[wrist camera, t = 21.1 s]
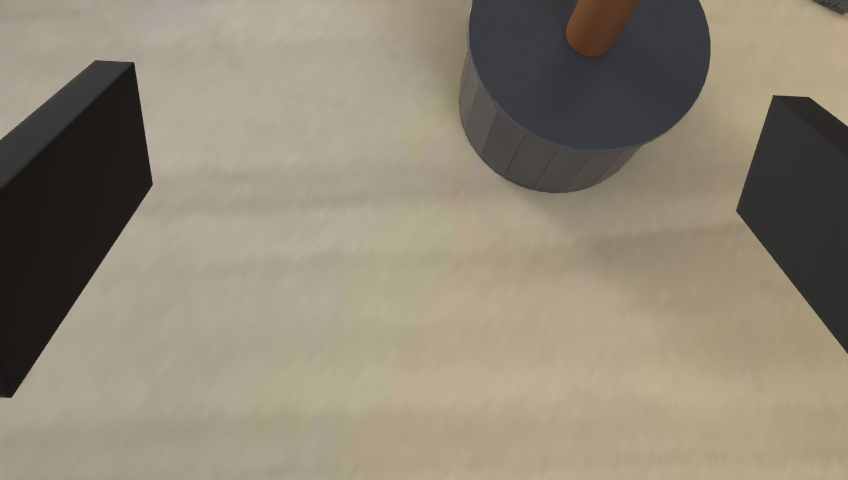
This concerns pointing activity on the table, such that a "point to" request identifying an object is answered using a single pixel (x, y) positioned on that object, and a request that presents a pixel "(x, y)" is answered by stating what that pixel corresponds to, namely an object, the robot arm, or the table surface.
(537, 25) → the lid
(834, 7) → the sword in stone
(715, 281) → the table surface
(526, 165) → the tin
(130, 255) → the table surface
